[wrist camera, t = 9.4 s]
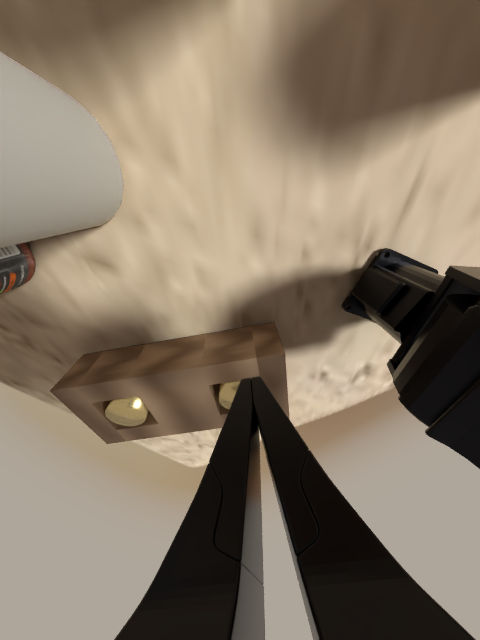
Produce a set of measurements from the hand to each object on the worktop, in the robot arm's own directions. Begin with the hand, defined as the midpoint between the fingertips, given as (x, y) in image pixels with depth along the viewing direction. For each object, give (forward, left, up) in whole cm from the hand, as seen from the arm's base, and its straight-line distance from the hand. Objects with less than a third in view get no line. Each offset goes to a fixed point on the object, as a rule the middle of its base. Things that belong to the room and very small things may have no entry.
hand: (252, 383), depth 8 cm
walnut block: (+2, +13, -12) cm, 18 cm away
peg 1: (+7, +16, -12) cm, 21 cm away
